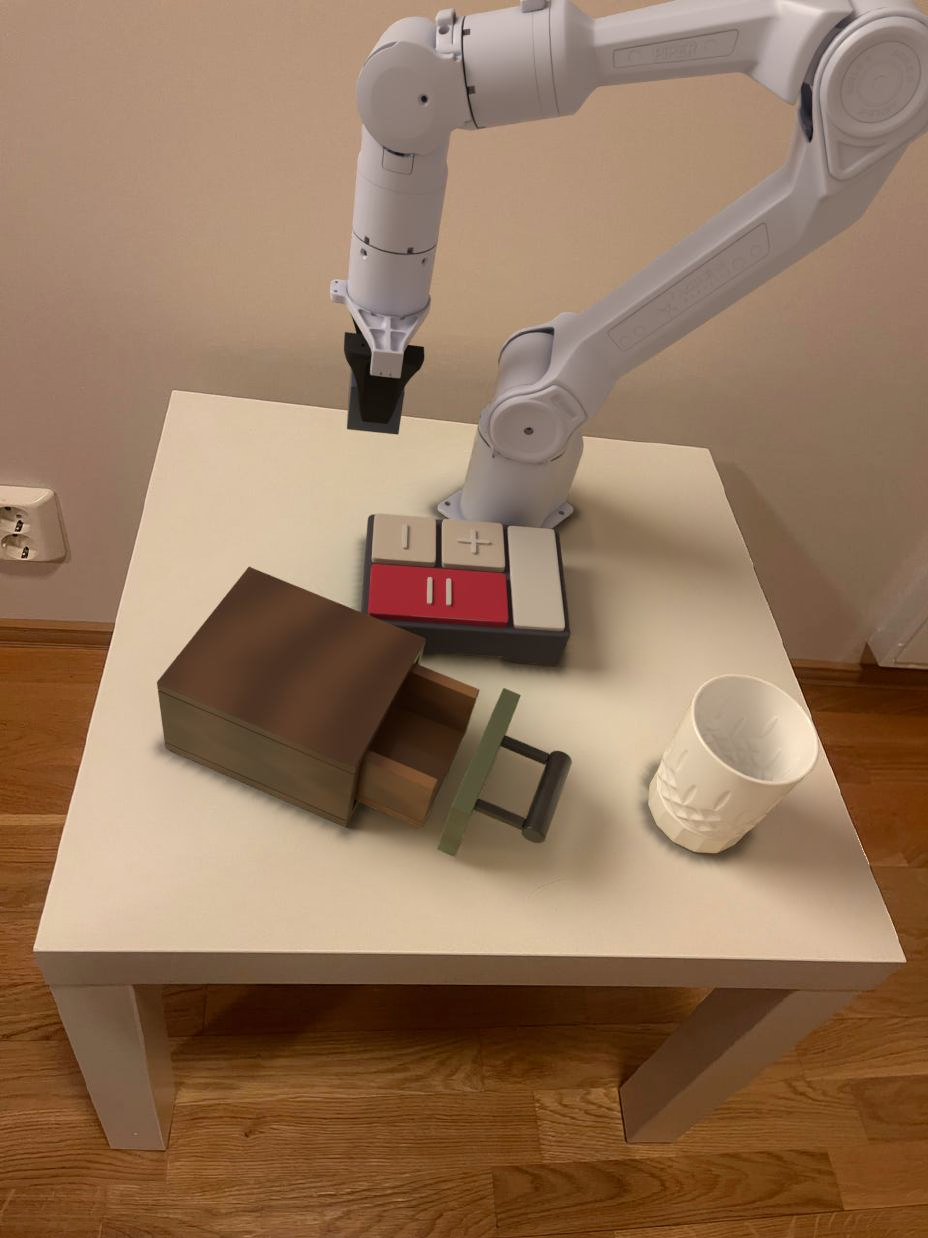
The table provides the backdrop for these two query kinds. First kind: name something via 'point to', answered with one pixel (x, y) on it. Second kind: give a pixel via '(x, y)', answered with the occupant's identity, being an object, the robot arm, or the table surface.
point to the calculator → (469, 586)
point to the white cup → (731, 762)
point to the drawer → (450, 759)
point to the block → (357, 424)
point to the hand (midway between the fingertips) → (375, 401)
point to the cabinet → (286, 692)
